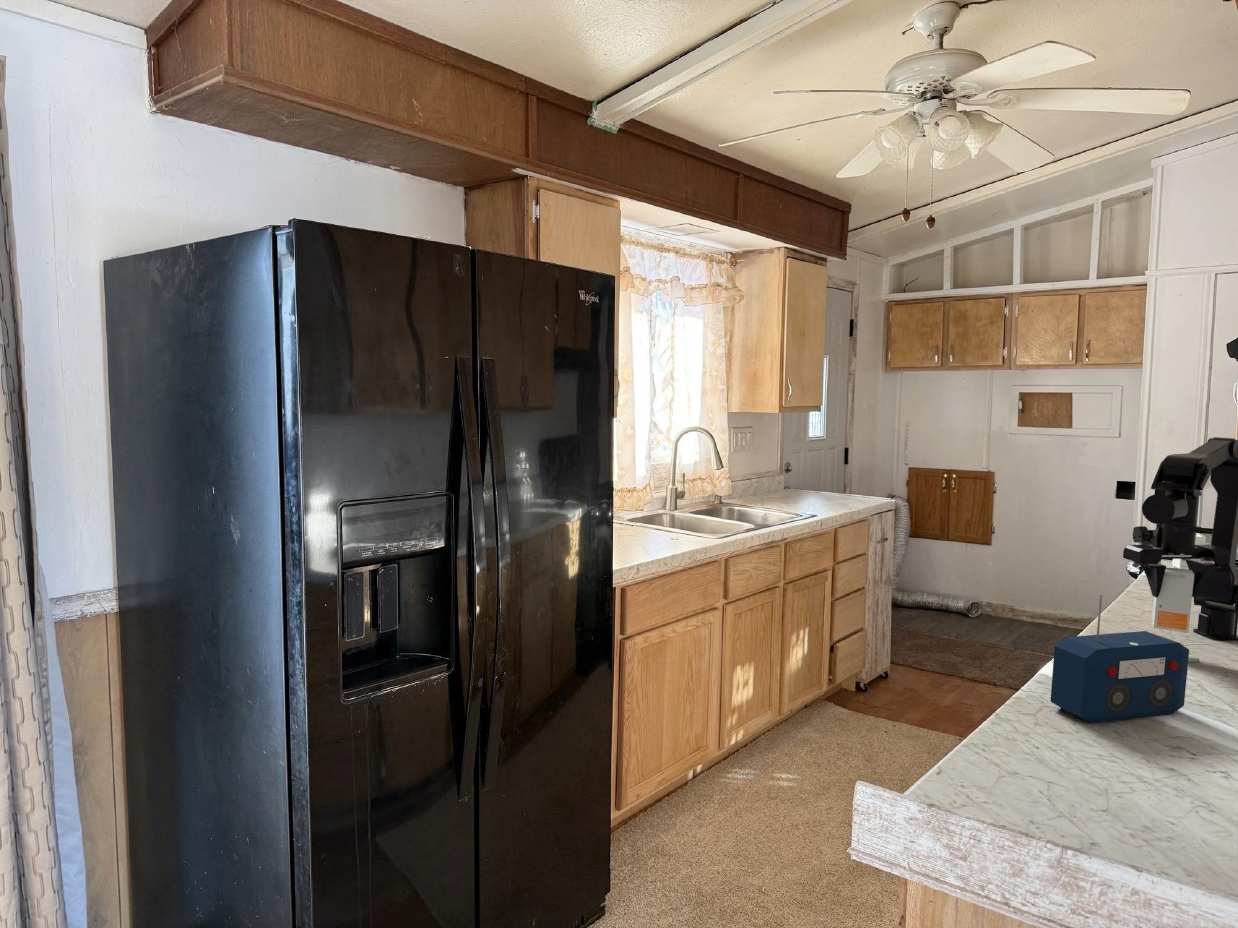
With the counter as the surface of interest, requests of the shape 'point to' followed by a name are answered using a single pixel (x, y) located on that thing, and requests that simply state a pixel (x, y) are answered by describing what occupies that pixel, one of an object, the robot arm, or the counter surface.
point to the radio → (1119, 675)
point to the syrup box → (1181, 562)
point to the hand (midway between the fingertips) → (1172, 596)
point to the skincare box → (1174, 601)
